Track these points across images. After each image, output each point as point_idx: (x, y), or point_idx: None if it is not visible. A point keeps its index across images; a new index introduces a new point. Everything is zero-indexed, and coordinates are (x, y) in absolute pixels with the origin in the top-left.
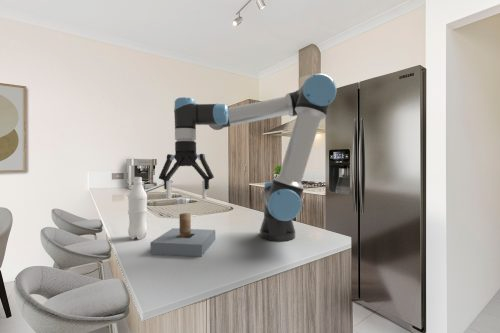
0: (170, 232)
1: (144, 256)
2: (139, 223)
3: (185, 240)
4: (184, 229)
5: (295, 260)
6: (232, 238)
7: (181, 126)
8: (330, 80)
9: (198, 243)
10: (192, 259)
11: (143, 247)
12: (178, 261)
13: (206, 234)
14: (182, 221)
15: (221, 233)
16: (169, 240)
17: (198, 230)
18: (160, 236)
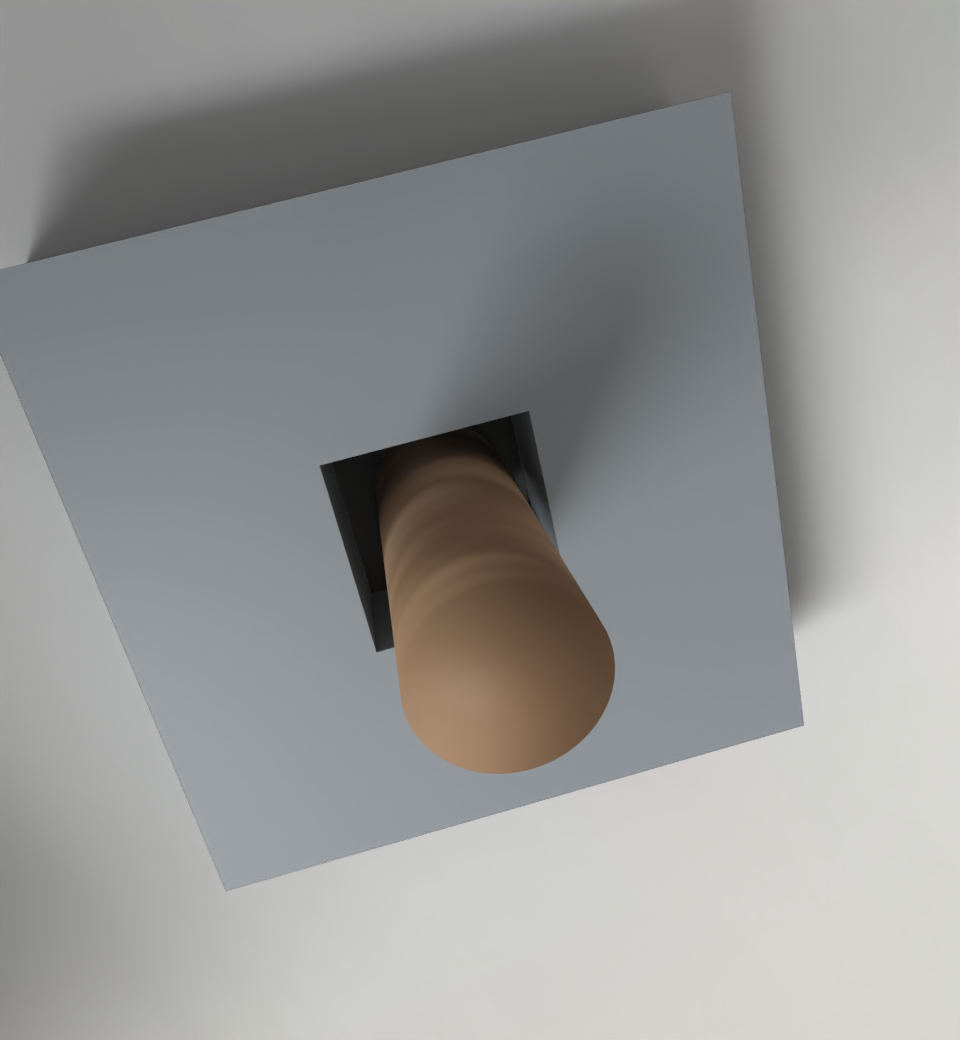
0: (726, 567)
1: (692, 8)
2: None
3: (315, 352)
4: (430, 503)
5: None
6: (75, 921)
7: None
8: None
9: (49, 306)
10: (72, 139)
11: (883, 266)
12: (191, 13)
13: (211, 687)
14: (480, 539)
15: (302, 1003)
16: (529, 266)
17: (423, 783)
18: (752, 369)
